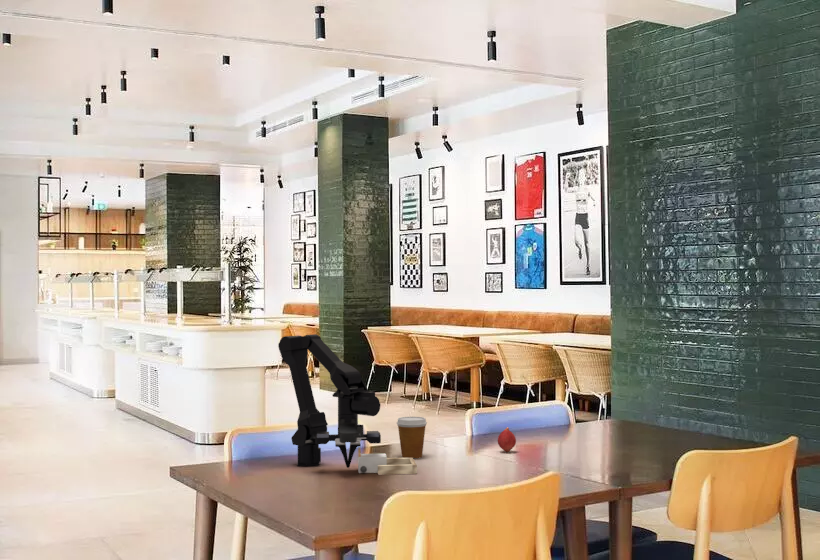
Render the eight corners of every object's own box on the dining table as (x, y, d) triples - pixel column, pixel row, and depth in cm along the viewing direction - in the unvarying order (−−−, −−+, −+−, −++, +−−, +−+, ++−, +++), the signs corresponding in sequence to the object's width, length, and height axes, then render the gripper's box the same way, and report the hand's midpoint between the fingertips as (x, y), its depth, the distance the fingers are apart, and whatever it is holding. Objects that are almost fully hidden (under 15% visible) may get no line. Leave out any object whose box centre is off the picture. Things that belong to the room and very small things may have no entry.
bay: (378, 474, 265) (378, 465, 265) (375, 466, 277) (375, 458, 277) (416, 473, 266) (416, 465, 266) (413, 466, 278) (413, 457, 278)
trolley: (358, 473, 267) (358, 450, 267) (358, 468, 274) (358, 446, 274) (386, 473, 268) (386, 450, 268) (385, 468, 275) (385, 446, 275)
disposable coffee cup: (424, 460, 288) (423, 421, 288) (393, 459, 289) (393, 420, 290) (429, 454, 297) (429, 416, 297) (400, 453, 299) (400, 416, 299)
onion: (495, 453, 299) (495, 428, 299) (500, 450, 305) (500, 425, 305) (513, 454, 297) (513, 428, 297) (518, 451, 302) (518, 426, 302)
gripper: (314, 417, 262) (314, 473, 262) (381, 416, 263) (381, 472, 263) (315, 412, 273) (315, 466, 273) (379, 411, 274) (379, 465, 274)
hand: (348, 467), depth 270 cm, fingers closed
